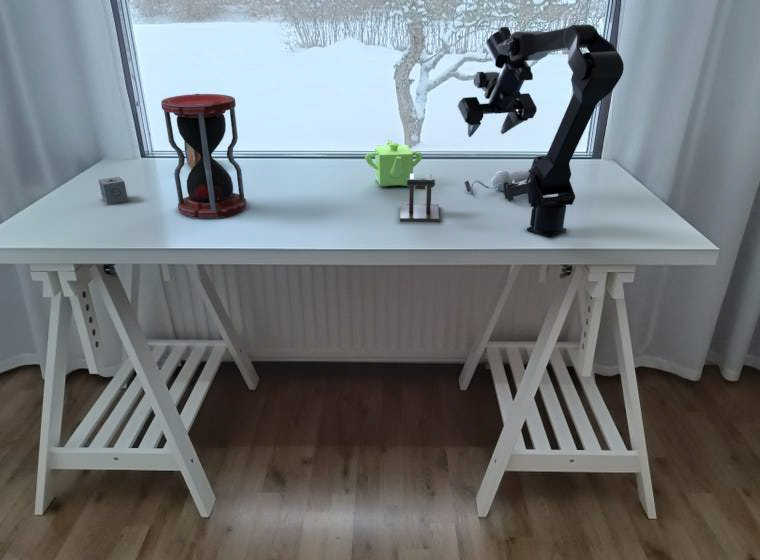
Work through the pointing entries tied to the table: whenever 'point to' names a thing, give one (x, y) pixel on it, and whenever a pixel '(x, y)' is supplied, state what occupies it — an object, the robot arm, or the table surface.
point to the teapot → (393, 163)
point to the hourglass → (205, 154)
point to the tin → (191, 155)
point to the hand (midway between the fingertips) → (485, 134)
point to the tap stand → (419, 207)
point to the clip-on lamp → (507, 183)
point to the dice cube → (113, 190)
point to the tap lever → (420, 183)
